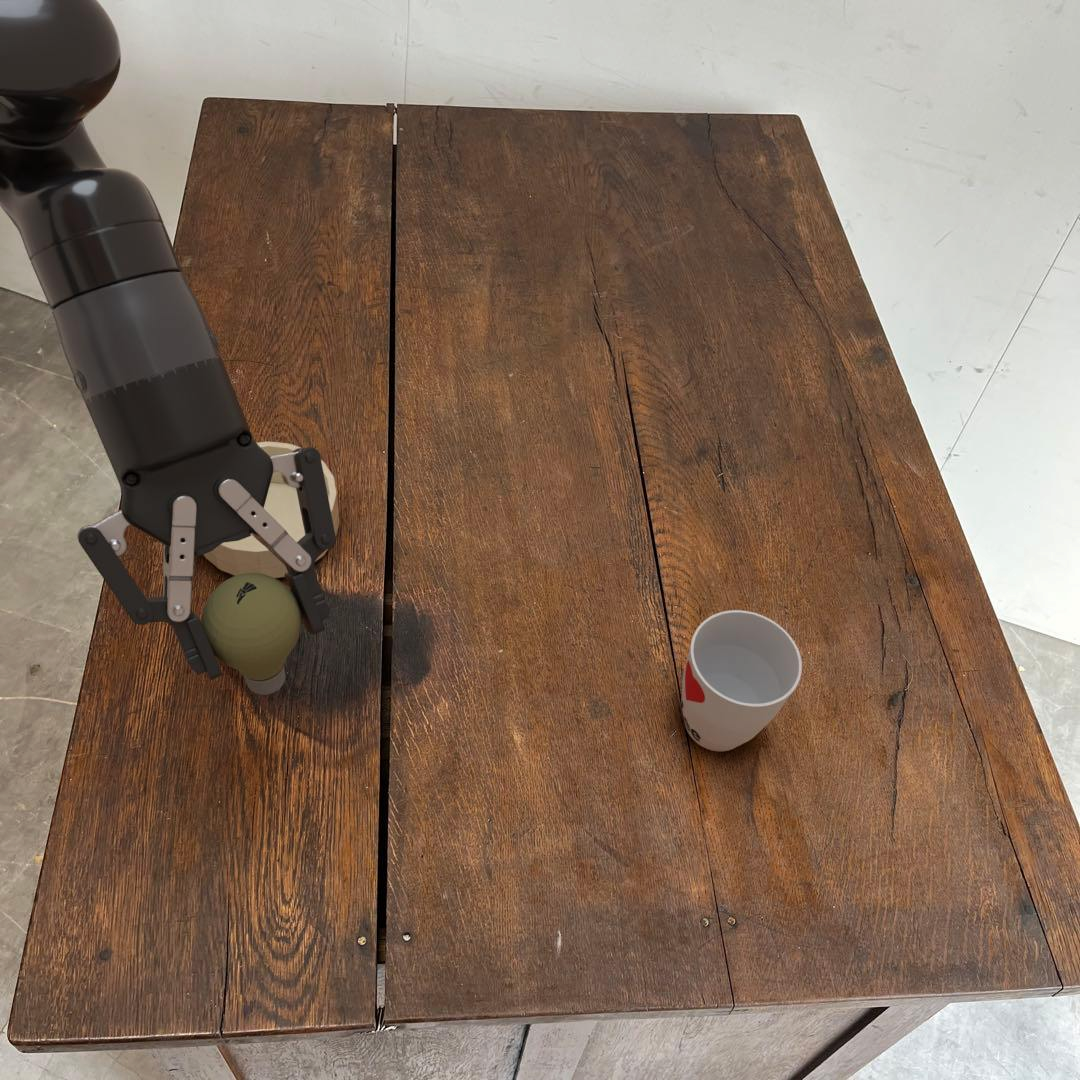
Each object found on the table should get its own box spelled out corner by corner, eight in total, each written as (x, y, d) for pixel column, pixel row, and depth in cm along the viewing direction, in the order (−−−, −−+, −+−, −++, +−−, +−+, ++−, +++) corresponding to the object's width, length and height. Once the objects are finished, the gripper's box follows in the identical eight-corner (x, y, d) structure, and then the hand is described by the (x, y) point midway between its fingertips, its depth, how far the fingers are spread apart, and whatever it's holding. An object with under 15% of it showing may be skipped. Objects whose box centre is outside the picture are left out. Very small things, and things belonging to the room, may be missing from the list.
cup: (673, 668, 85) (697, 599, 77) (770, 691, 84) (805, 624, 76) (659, 755, 80) (683, 691, 72) (762, 780, 79) (798, 717, 71)
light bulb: (233, 641, 67) (208, 548, 59) (319, 650, 67) (305, 558, 59) (210, 717, 63) (181, 629, 56) (301, 727, 64) (284, 640, 56)
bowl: (228, 604, 85) (219, 572, 82) (176, 505, 91) (166, 471, 88) (362, 549, 90) (360, 517, 86) (305, 458, 96) (300, 424, 92)
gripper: (263, 341, 62) (361, 597, 66) (16, 419, 57) (137, 694, 60) (290, 325, 55) (397, 611, 59) (12, 412, 50) (149, 722, 53)
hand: (265, 652), depth 60 cm, fingers closed on light bulb, 5 cm apart
